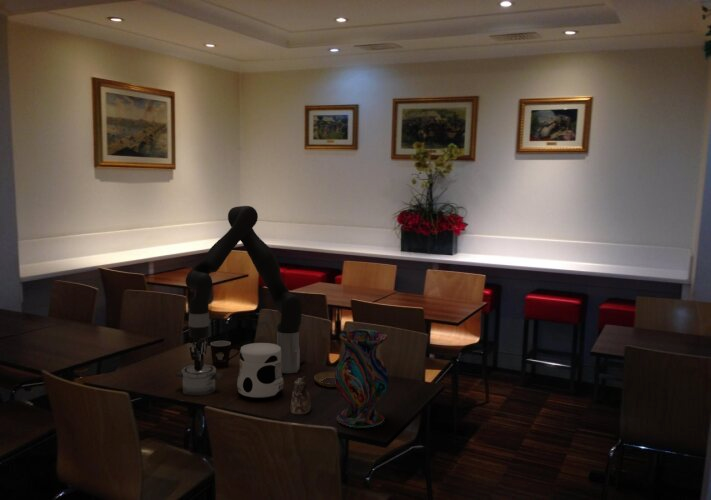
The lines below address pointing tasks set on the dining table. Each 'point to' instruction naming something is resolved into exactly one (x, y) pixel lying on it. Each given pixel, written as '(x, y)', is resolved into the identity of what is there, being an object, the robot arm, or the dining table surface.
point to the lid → (203, 370)
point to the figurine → (300, 397)
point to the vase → (361, 377)
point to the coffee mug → (221, 353)
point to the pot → (199, 381)
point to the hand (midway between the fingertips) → (199, 368)
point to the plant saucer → (324, 375)
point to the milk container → (260, 371)
